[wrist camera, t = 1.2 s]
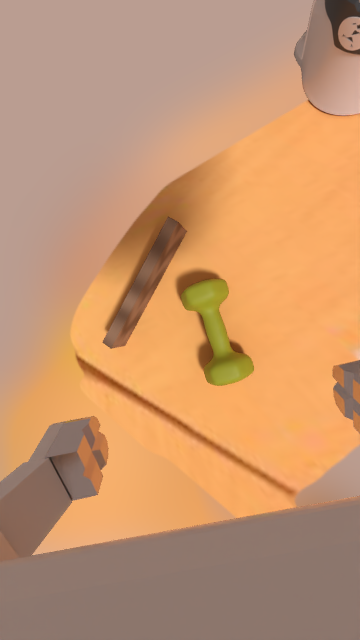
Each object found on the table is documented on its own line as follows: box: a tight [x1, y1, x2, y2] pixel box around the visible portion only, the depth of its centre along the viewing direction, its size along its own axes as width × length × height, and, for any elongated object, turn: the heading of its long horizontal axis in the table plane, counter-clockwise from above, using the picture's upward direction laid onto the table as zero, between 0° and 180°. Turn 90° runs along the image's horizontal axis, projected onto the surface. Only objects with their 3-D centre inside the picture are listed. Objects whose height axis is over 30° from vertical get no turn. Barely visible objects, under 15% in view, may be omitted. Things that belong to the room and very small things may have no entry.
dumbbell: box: [181, 279, 254, 386], centre depth 44 cm, size 16×8×7 cm, turn 17°
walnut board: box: [103, 217, 187, 348], centre depth 49 cm, size 24×2×5 cm, turn 149°
